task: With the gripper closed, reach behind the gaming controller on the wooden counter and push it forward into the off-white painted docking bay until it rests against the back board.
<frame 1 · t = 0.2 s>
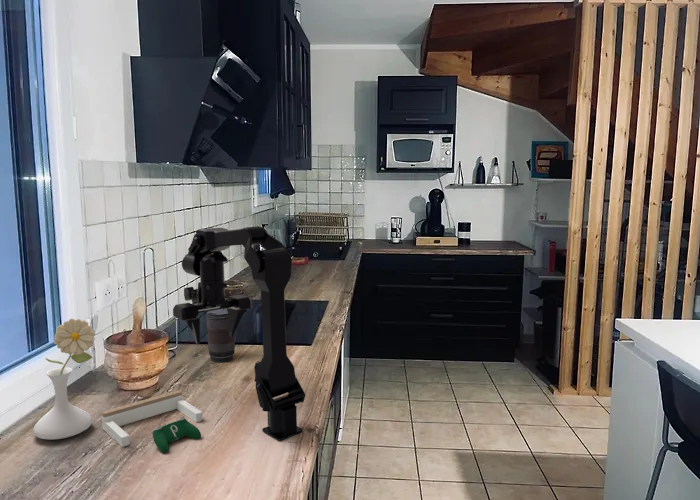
hand: (214, 340, 135), 14 cm above the table, tool pointing down, fingers open, 9 cm apart
bay: (154, 425, 121), on the table
gaming controller: (175, 443, 113), on the table
dark grey cylinder: (221, 359, 165), on the table
flower in vase: (68, 432, 118), on the table
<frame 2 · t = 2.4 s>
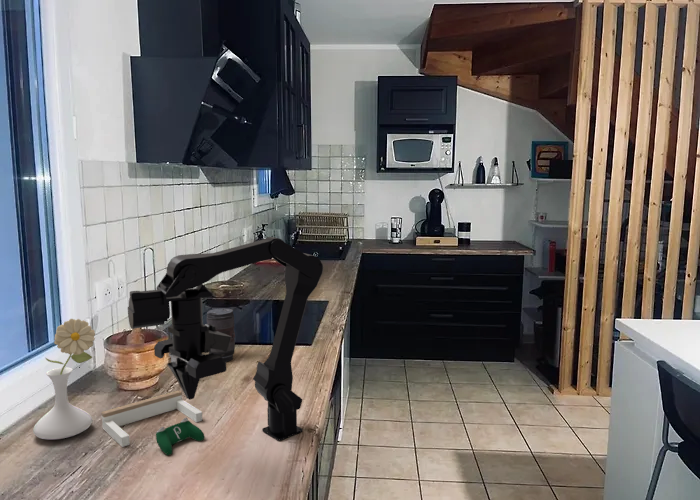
hand: (190, 398, 106), 12 cm above the table, tool pointing down, fingers closed
gaming controller: (179, 445, 112), on the table
everything else where it was.
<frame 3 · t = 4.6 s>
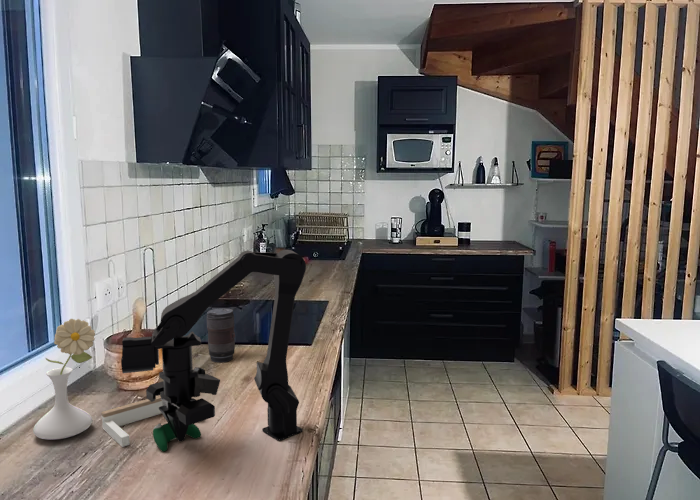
hand: (181, 440, 111), 1 cm above the table, tool pointing down, fingers closed
gaming controller: (175, 442, 114), on the table
everything else where it was.
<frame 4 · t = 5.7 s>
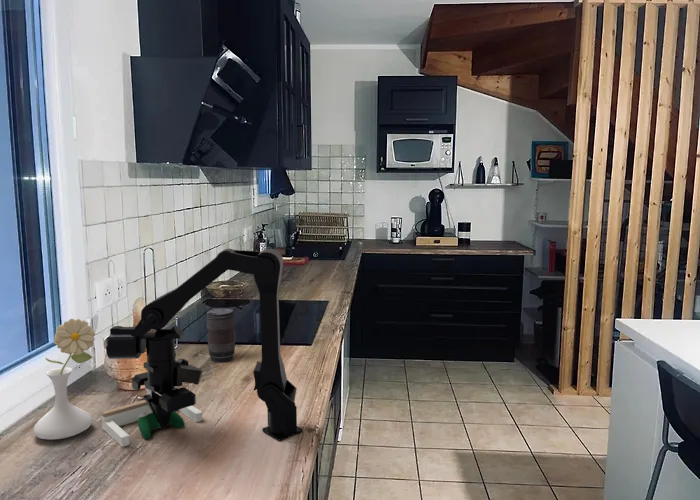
hand: (164, 427, 116), 1 cm above the table, tool pointing down, fingers closed, pressing on gaming controller
gaming controller: (160, 430, 119), on the table, touching gripper
everything else where it was.
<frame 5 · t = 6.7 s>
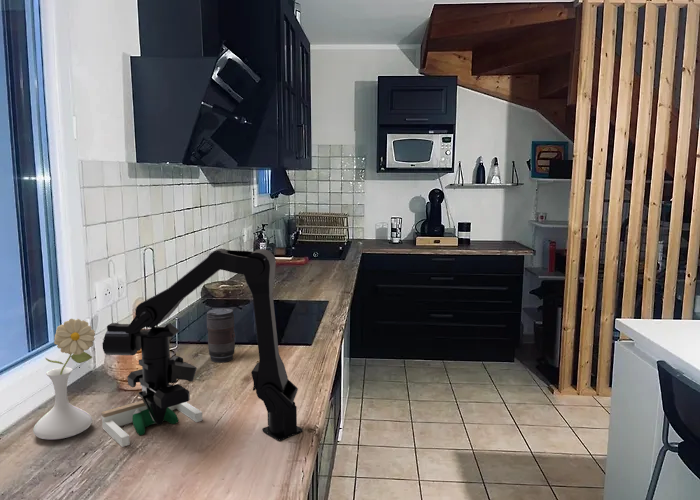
hand: (159, 423, 119), 1 cm above the table, tool pointing down, fingers closed, pressing on gaming controller
gaming controller: (154, 427, 121), on the table, touching gripper
everything else where it was.
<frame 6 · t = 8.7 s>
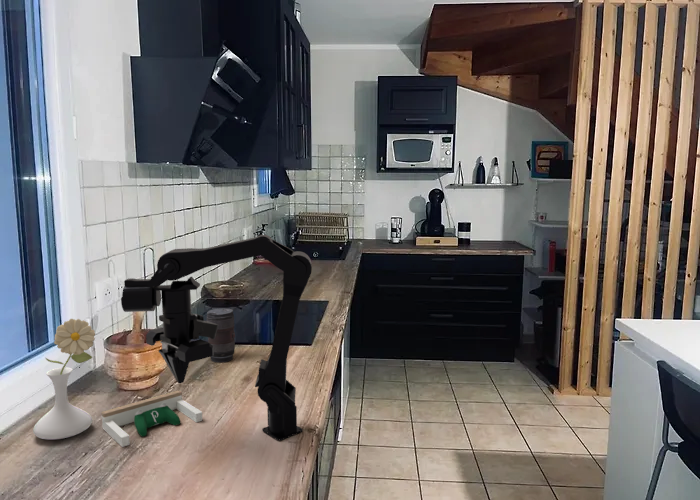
hand: (180, 382, 114), 12 cm above the table, tool pointing down, fingers closed
gaming controller: (156, 428, 120), on the table
everything else where it was.
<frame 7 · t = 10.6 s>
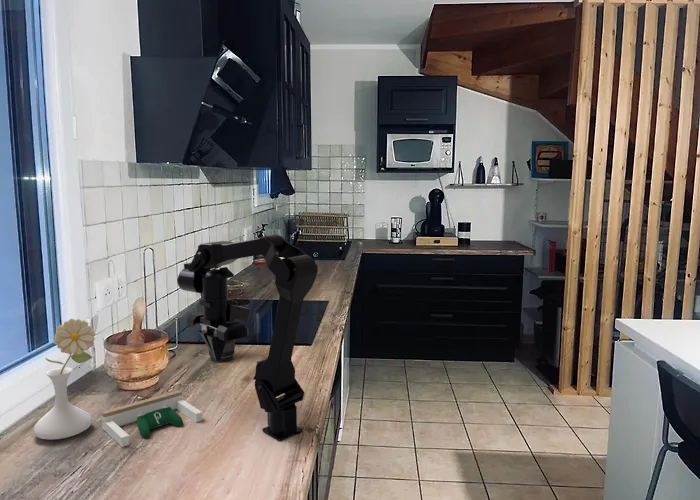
hand: (217, 360, 128), 12 cm above the table, tool pointing down, fingers closed
gaming controller: (158, 429, 119), on the table
everything else where it was.
at the end: gaming controller inside the target area on the bay (1.8 cm from its centre), point 0.0 cm above the bay's base; gaming controller moved 8.2 cm from its start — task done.
